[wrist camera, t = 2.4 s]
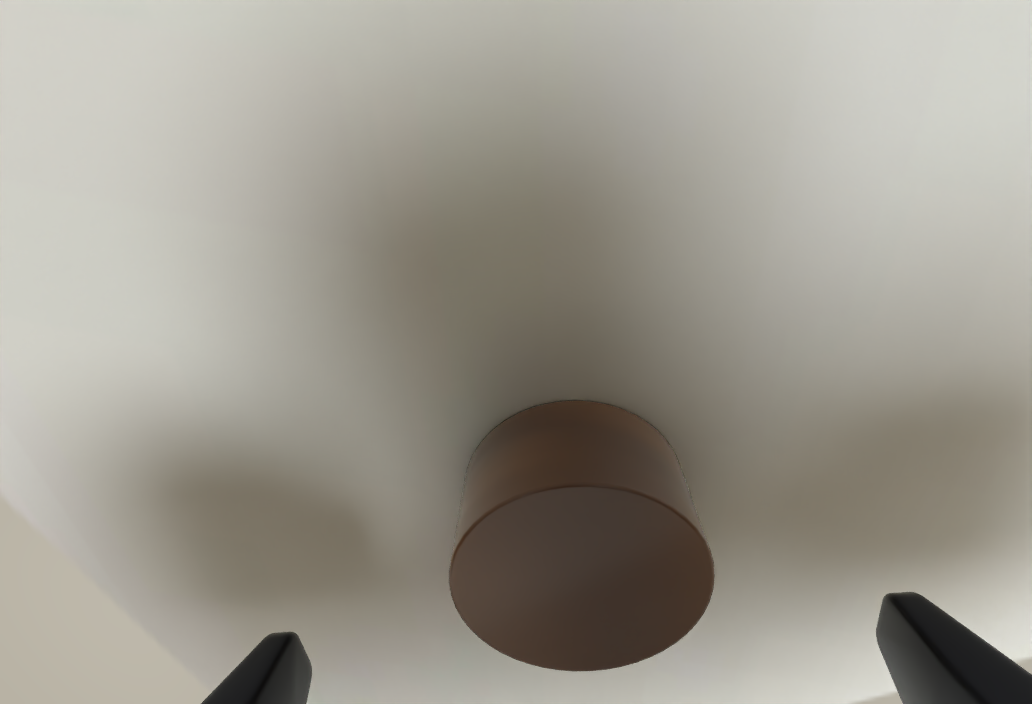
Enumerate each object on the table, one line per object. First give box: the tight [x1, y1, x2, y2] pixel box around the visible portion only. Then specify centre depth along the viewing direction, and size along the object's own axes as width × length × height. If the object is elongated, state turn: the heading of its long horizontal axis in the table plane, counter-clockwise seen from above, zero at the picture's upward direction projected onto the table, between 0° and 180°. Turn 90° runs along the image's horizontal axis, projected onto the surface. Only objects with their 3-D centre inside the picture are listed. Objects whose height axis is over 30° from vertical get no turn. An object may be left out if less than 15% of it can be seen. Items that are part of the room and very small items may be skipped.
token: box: [449, 401, 715, 671], centre depth 11 cm, size 4×4×2 cm
